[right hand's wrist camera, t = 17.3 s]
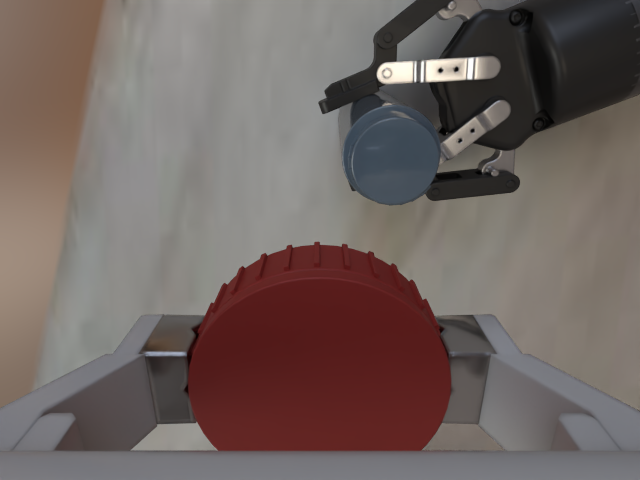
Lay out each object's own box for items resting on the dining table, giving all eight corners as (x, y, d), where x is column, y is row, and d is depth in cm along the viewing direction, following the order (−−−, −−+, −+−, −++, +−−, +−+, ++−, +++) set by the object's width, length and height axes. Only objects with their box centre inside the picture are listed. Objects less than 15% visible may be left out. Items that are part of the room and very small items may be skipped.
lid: (438, 425, 11) (457, 480, 9) (229, 445, 11) (215, 503, 10) (432, 226, 9) (453, 257, 7) (177, 256, 9) (151, 292, 8)
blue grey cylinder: (325, 121, 34) (320, 167, 19) (366, 74, 32) (394, 83, 18) (368, 160, 35) (395, 231, 20) (409, 116, 33) (470, 157, 19)
